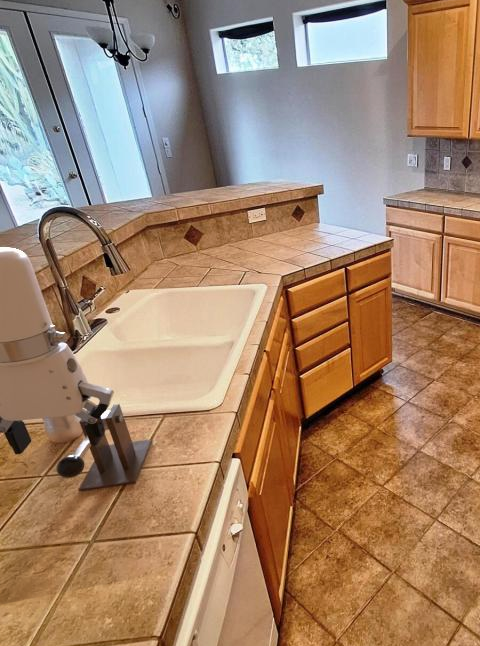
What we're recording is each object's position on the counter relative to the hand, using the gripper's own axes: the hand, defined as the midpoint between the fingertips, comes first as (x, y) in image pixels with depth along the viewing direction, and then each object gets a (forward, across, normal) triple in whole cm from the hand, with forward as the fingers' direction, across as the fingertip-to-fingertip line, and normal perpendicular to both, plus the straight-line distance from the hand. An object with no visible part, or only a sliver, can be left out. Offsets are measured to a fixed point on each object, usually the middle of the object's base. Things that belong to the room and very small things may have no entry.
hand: (61, 443), depth 65 cm
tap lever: (+6, -1, -5) cm, 8 cm away
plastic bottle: (+16, +12, -24) cm, 31 cm away
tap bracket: (+16, -1, -12) cm, 20 cm away
